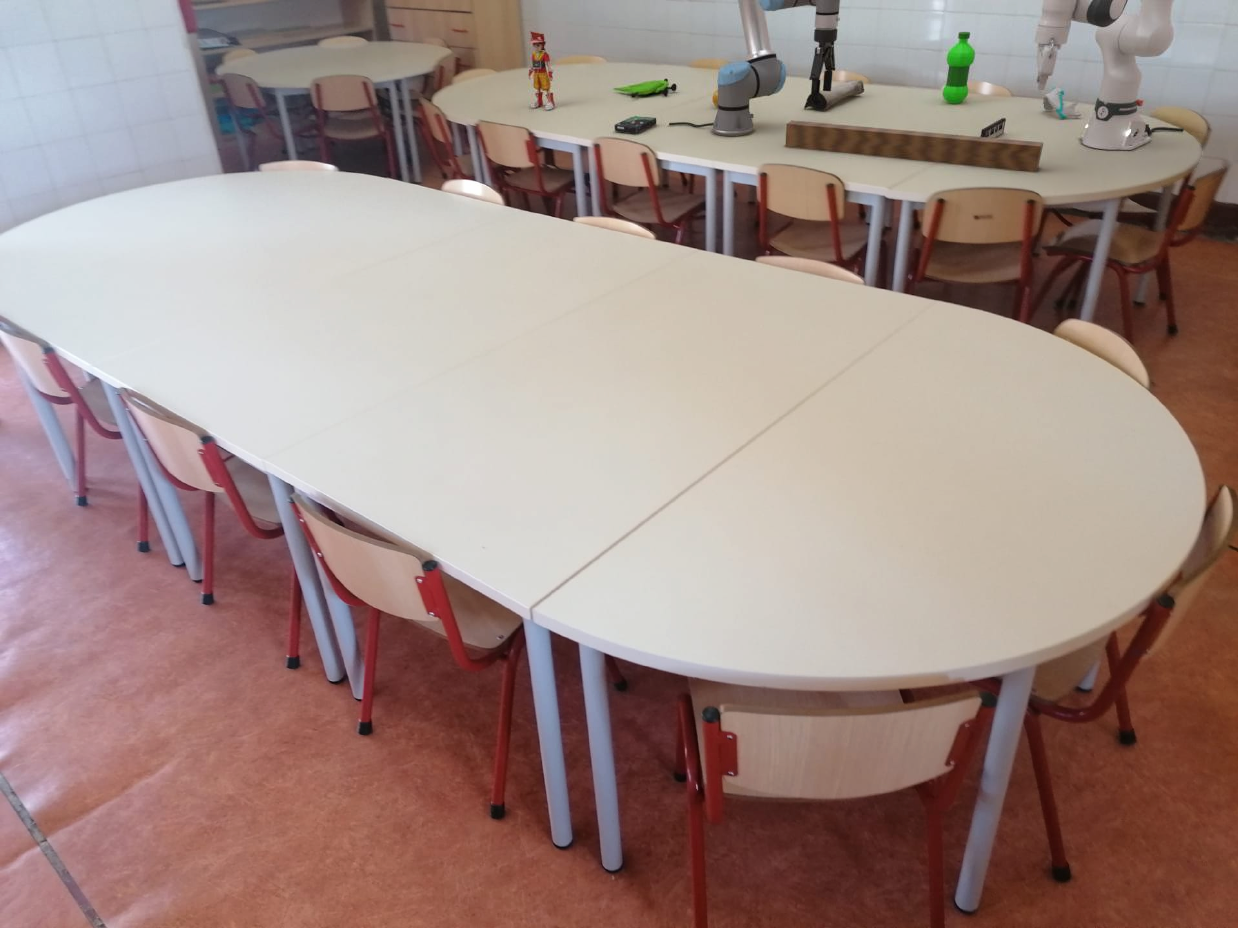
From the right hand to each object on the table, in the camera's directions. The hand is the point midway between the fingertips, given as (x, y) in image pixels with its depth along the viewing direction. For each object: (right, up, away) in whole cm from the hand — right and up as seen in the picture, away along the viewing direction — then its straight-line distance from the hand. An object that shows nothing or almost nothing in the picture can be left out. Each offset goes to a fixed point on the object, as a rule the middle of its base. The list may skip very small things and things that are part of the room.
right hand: (1040, 86), depth 271 cm
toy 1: (-160, +38, +112) cm, 199 cm away
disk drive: (-121, +16, +76) cm, 144 cm away
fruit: (-85, +32, +96) cm, 132 cm away
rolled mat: (-40, +33, +93) cm, 107 cm away
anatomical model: (+35, +15, +61) cm, 72 cm away
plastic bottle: (+5, +29, +84) cm, 89 cm away
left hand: (-58, +13, +38) cm, 70 cm away
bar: (-32, -11, +29) cm, 45 cm away
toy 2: (-118, +51, +126) cm, 180 cm away
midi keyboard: (+2, -1, +40) cm, 40 cm away
